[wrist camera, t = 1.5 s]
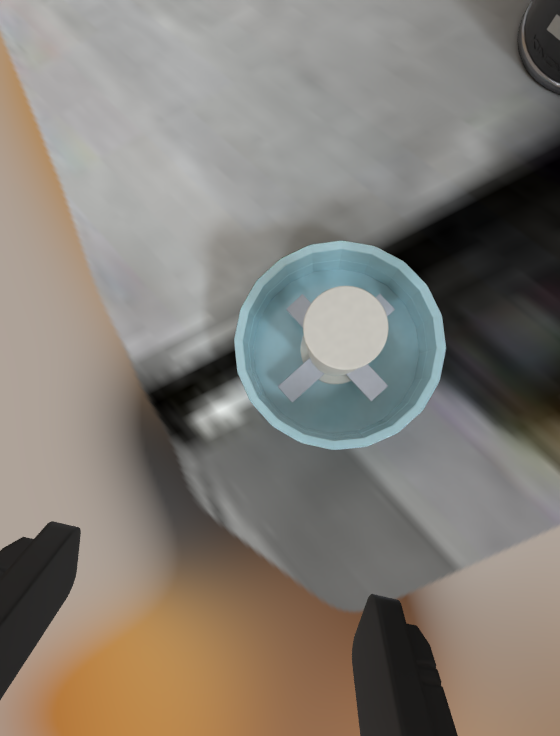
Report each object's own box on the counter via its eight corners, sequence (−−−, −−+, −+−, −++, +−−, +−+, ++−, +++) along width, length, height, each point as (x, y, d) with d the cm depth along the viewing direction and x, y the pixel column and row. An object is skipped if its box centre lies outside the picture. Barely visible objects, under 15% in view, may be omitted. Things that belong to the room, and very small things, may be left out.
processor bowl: (340, 228, 35) (344, 199, 29) (462, 356, 33) (490, 350, 28) (213, 346, 35) (193, 338, 30) (329, 475, 34) (331, 492, 28)
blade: (344, 264, 34) (360, 188, 21) (424, 348, 33) (492, 323, 20) (248, 352, 34) (206, 331, 21) (325, 437, 33) (330, 469, 21)
